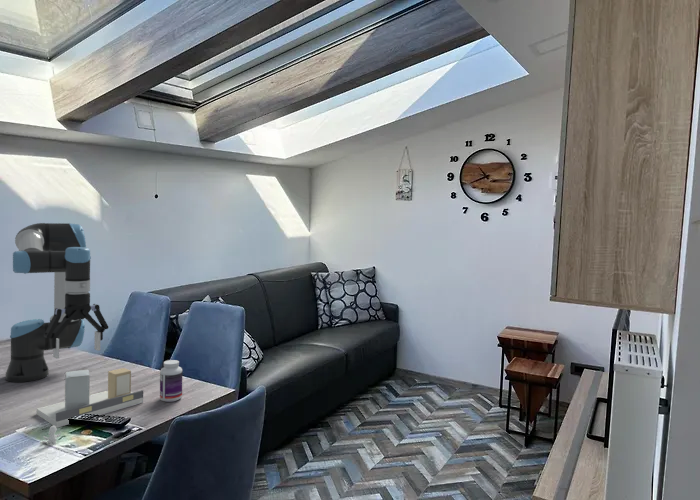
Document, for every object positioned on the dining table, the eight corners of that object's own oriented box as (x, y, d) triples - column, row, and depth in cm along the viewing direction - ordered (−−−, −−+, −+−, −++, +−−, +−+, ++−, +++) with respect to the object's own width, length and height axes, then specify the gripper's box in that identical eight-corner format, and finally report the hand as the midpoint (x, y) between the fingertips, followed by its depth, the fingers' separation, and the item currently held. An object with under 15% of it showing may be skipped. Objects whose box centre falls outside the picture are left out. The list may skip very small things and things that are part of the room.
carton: (107, 397, 183) (108, 371, 183) (123, 393, 188) (124, 367, 187) (115, 401, 180) (115, 374, 180) (130, 397, 185) (131, 370, 184)
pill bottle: (186, 397, 193) (187, 360, 192) (172, 404, 185) (173, 366, 184) (169, 393, 195) (169, 357, 194) (154, 400, 188) (155, 363, 187)
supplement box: (89, 411, 171) (89, 375, 170) (64, 414, 167) (64, 377, 166) (88, 403, 177) (89, 368, 177) (65, 406, 174) (65, 371, 173)
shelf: (36, 414, 171) (36, 401, 171) (121, 392, 195) (121, 380, 195) (57, 427, 162) (57, 414, 161) (143, 402, 185) (143, 390, 185)
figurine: (30, 447, 149) (30, 427, 148) (54, 437, 156) (54, 418, 156) (49, 453, 146) (49, 433, 145) (72, 442, 153) (72, 423, 152)
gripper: (42, 297, 157) (42, 363, 159) (119, 290, 177) (118, 348, 179) (32, 294, 162) (32, 358, 163) (108, 287, 182) (107, 344, 183)
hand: (77, 353), depth 171 cm, fingers open, 13 cm apart
